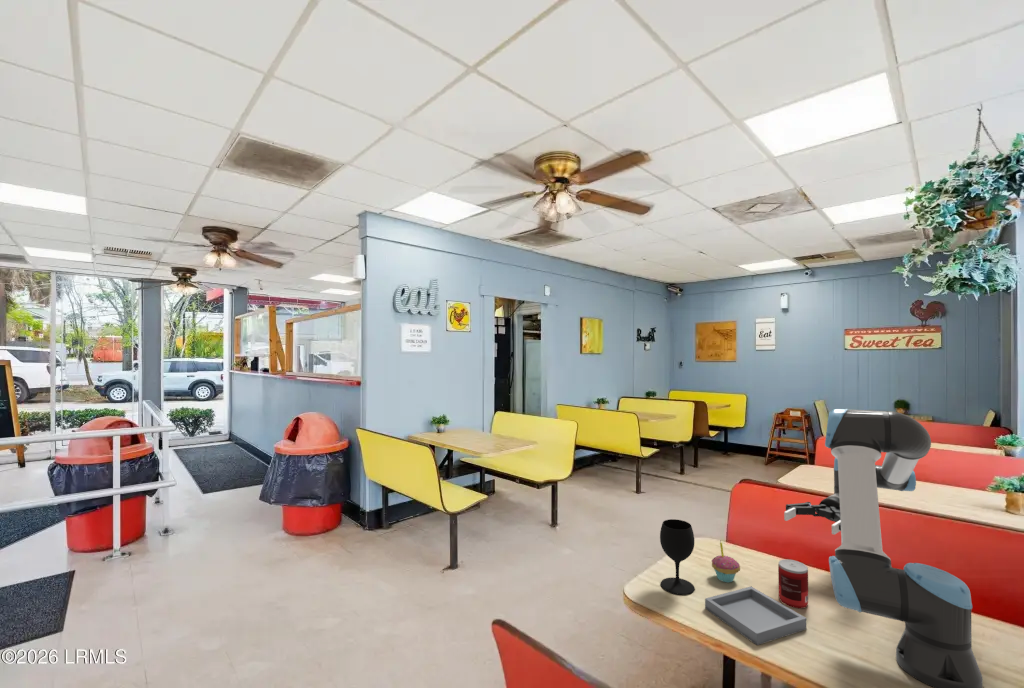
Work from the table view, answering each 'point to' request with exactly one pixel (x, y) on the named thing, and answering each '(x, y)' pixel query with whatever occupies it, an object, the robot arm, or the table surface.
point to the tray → (755, 615)
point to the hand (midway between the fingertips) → (808, 522)
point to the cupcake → (725, 567)
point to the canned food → (793, 583)
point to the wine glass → (677, 553)
